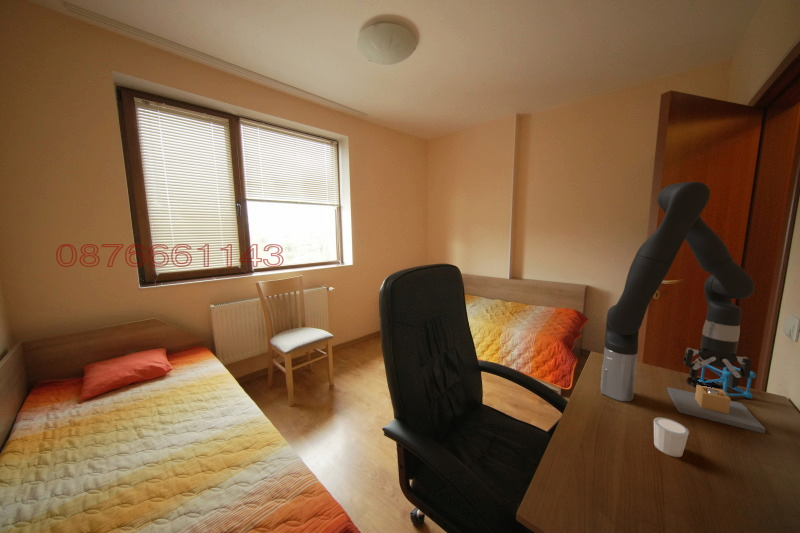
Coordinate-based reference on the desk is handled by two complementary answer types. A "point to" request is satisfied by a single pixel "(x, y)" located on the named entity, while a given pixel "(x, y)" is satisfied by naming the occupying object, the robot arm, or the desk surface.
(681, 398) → the post board
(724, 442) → the desk surface
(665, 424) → the shot glass
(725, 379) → the molecular structure
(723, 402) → the ochre collar
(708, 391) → the steel post
